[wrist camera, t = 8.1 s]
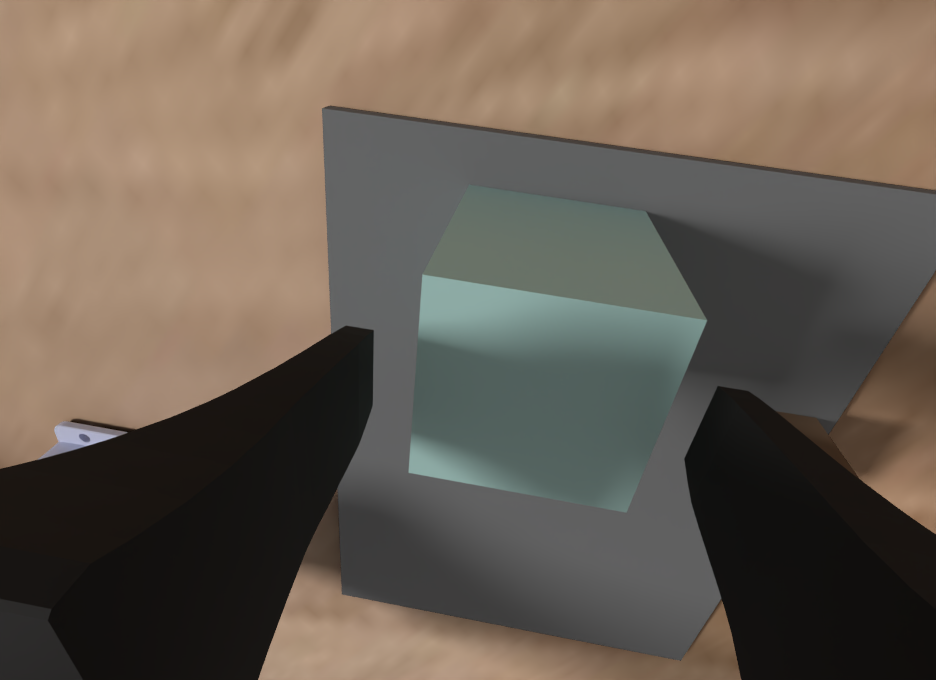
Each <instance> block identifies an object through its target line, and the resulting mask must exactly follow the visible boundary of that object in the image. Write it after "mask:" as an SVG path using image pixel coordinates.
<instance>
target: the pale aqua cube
mask: <svg viewBox="0 0 936 680" xmlns="http://www.w3.org/2000/svg"><path fill="white" fill-rule="evenodd" d="M706 322H707V319H706V317H705V316H704V314H703V312H702V310H701V309H700V307H699V305H698V303H697V301H696V300H695V298H694V296H693V294H692V293H691V291H690V289H689V287H688V285H687V284H686V282H685V280H684V278H683V277H682V275H681V273H680V271H679V269H678V268H677V266H676V264H675V262H674V261H673V259H672V257H671V255H670V253H669V252H668V250H667V248H666V246H665V245H664V243H663V241H662V239H661V237H660V236H659V234H658V232H657V230H656V229H655V227H654V225H653V223H652V221H651V220H650V218H649V216H648V214H647V213H646V211H641V210H634V209H628V208H621V207H614V206H608V205H601V204H594V203H588V202H581V201H574V200H568V199H561V198H554V197H548V196H541V195H534V194H528V193H521V192H514V191H508V190H501V189H495V188H488V187H481V186H475V185H469V186H468V188H467V190H466V192H465V194H464V196H463V198H462V199H461V201H460V203H459V205H458V207H457V209H456V211H455V213H454V215H453V217H452V219H451V221H450V223H449V224H448V226H447V228H446V230H445V232H444V234H443V236H442V238H441V240H440V242H439V244H438V246H437V247H436V249H435V251H434V253H433V255H432V257H431V259H430V261H429V263H428V265H427V267H426V269H425V271H424V272H423V274H422V287H421V302H420V316H419V330H418V344H417V359H416V373H415V387H414V401H413V416H412V430H411V444H410V458H409V473H413V474H418V475H424V476H429V477H435V478H440V479H445V480H451V481H456V482H462V483H467V484H473V485H478V486H484V487H489V488H495V489H500V490H505V491H511V492H516V493H522V494H527V495H533V496H538V497H544V498H549V499H555V500H560V501H566V502H571V503H576V504H582V505H587V506H593V507H598V508H604V509H609V510H615V511H620V512H626V513H627V510H628V508H629V505H630V503H631V501H632V498H633V496H634V494H635V491H636V489H637V486H638V484H639V482H640V479H641V477H642V474H643V472H644V470H645V467H646V465H647V463H648V460H649V458H650V455H651V453H652V451H653V448H654V446H655V443H656V441H657V439H658V436H659V434H660V432H661V429H662V427H663V424H664V422H665V420H666V417H667V415H668V413H669V410H670V408H671V405H672V403H673V401H674V398H675V396H676V393H677V391H678V389H679V386H680V384H681V382H682V379H683V377H684V374H685V372H686V370H687V367H688V365H689V363H690V360H691V358H692V355H693V353H694V351H695V348H696V346H697V343H698V341H699V339H700V336H701V334H702V332H703V329H704V327H705V324H706Z"/></svg>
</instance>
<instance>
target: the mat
mask: <svg viewBox="0 0 936 680" xmlns="http://www.w3.org/2000/svg"><path fill="white" fill-rule="evenodd" d="M322 118H323V142H324V167H325V191H326V216H327V240H328V264H329V289H330V313H331V334H332V333H334V332H335V331H337V330H339V329H340V328H342V327H344V326H352V327H358V328H365V329H371V330H374V356H373V407H372V409H371V412H370V415H369V418H368V421H367V424H366V427H365V430H364V433H363V435H362V438H361V441H360V444H359V446H358V448H357V450H356V452H355V454H354V456H353V458H352V460H351V462H350V464H349V466H348V468H347V470H346V472H345V474H344V476H343V478H342V480H341V482H340V484H339V486H338V509H339V534H340V558H341V582H342V594H343V595H348V596H353V597H359V598H364V599H369V600H374V601H379V602H384V603H389V604H394V605H399V606H404V607H410V608H415V609H420V610H425V611H430V612H435V613H440V614H445V615H450V616H455V617H460V618H466V619H471V620H476V621H481V622H486V623H491V624H496V625H501V626H506V627H511V628H517V629H522V630H527V631H532V632H537V633H542V634H547V635H552V636H557V637H562V638H568V639H573V640H578V641H583V642H588V643H593V644H598V645H603V646H608V647H613V648H619V649H624V650H629V651H634V652H639V653H644V654H649V655H654V656H659V657H664V658H669V659H675V660H680V661H681V660H682V658H683V656H684V655H685V653H686V652H687V650H688V649H689V647H690V646H691V644H692V643H693V641H694V640H695V638H696V637H697V635H698V634H699V632H700V630H701V629H702V627H703V626H704V624H705V623H706V621H707V620H708V618H709V617H710V615H711V614H712V612H713V611H714V609H715V607H716V606H717V604H718V603H719V601H720V600H721V595H720V592H719V589H718V586H717V583H716V580H715V577H714V573H713V570H712V567H711V564H710V561H709V558H708V555H707V552H706V549H705V546H704V542H703V539H702V536H701V533H700V530H699V527H698V523H697V520H696V517H695V514H694V510H693V507H692V503H691V498H690V493H689V488H688V482H687V475H686V468H685V461H684V458H685V456H686V454H687V451H688V449H689V447H690V445H691V443H692V441H693V438H694V436H695V434H696V432H697V430H698V428H699V425H700V423H701V421H702V419H703V417H704V415H705V412H706V410H707V408H708V406H709V404H710V402H711V399H712V397H713V395H714V393H715V391H716V389H717V386H721V387H727V388H733V389H740V390H746V391H749V392H751V393H752V394H754V395H755V396H756V397H758V398H759V399H761V400H762V401H763V402H765V403H766V404H767V405H768V406H770V407H771V408H772V409H774V410H775V411H778V412H784V413H790V414H796V415H802V416H808V417H814V418H817V419H818V421H819V422H820V424H821V425H822V427H823V428H824V429H825V431H826V432H827V434H828V435H829V433H830V432H831V430H832V428H833V427H834V425H835V424H836V422H837V421H838V419H839V418H840V416H841V415H842V413H843V412H844V410H845V409H846V407H847V406H848V404H849V402H850V401H851V399H852V398H853V396H854V395H855V393H856V392H857V390H858V389H859V387H860V386H861V384H862V383H863V381H864V379H865V378H866V376H867V375H868V373H869V372H870V370H871V369H872V367H873V366H874V364H875V363H876V361H877V360H878V358H879V357H880V355H881V353H882V352H883V350H884V349H885V347H886V346H887V344H888V343H889V341H890V340H891V338H892V337H893V335H894V334H895V332H896V331H897V329H898V327H899V326H900V324H901V323H902V321H903V320H904V318H905V317H906V315H907V314H908V312H909V311H910V309H911V308H912V306H913V305H914V303H915V301H916V300H917V298H918V297H919V295H920V294H921V292H922V291H923V289H924V288H925V286H926V285H927V283H928V282H929V280H930V278H931V277H932V275H933V274H934V272H935V271H936V191H935V190H928V189H920V188H913V187H906V186H899V185H892V184H885V183H878V182H870V181H863V180H856V179H849V178H842V177H835V176H828V175H820V174H813V173H806V172H799V171H792V170H785V169H778V168H770V167H763V166H756V165H749V164H742V163H735V162H728V161H720V160H713V159H706V158H699V157H692V156H685V155H678V154H670V153H663V152H656V151H649V150H642V149H635V148H628V147H620V146H613V145H606V144H599V143H592V142H585V141H578V140H570V139H563V138H556V137H549V136H542V135H535V134H528V133H520V132H513V131H506V130H499V129H492V128H485V127H478V126H470V125H463V124H456V123H449V122H442V121H435V120H428V119H420V118H413V117H406V116H399V115H392V114H385V113H378V112H370V111H363V110H356V109H349V108H342V107H335V106H328V107H325V108H322ZM469 185H475V186H481V187H488V188H495V189H501V190H508V191H514V192H521V193H528V194H534V195H541V196H548V197H554V198H561V199H568V200H574V201H581V202H588V203H594V204H601V205H608V206H614V207H621V208H628V209H634V210H641V211H646V213H647V214H648V216H649V218H650V220H651V221H652V223H653V225H654V227H655V229H656V230H657V232H658V234H659V236H660V237H661V239H662V241H663V243H664V245H665V246H666V248H667V250H668V252H669V253H670V255H671V257H672V259H673V261H674V262H675V264H676V266H677V268H678V269H679V271H680V273H681V275H682V277H683V278H684V280H685V282H686V284H687V285H688V287H689V289H690V291H691V293H692V294H693V296H694V298H695V300H696V301H697V303H698V305H699V307H700V309H701V310H702V312H703V314H704V316H705V317H706V319H707V322H706V324H705V327H704V329H703V332H702V334H701V336H700V339H699V341H698V343H697V346H696V348H695V351H694V353H693V355H692V358H691V360H690V363H689V365H688V367H687V370H686V372H685V374H684V377H683V379H682V382H681V384H680V386H679V389H678V391H677V393H676V396H675V398H674V401H673V403H672V405H671V408H670V410H669V413H668V415H667V417H666V420H665V422H664V424H663V427H662V429H661V432H660V434H659V436H658V439H657V441H656V443H655V446H654V448H653V451H652V453H651V455H650V458H649V460H648V463H647V465H646V467H645V470H644V472H643V474H642V477H641V479H640V482H639V484H638V486H637V489H636V491H635V494H634V496H633V498H632V501H631V503H630V505H629V508H628V510H627V513H626V512H620V511H615V510H609V509H604V508H598V507H593V506H587V505H582V504H576V503H571V502H566V501H560V500H555V499H549V498H544V497H538V496H533V495H527V494H522V493H516V492H511V491H505V490H500V489H495V488H489V487H484V486H478V485H473V484H467V483H462V482H456V481H451V480H445V479H440V478H435V477H429V476H424V475H418V474H413V473H409V458H410V444H411V430H412V416H413V401H414V387H415V373H416V359H417V344H418V330H419V316H420V302H421V287H422V274H423V272H424V271H425V269H426V267H427V265H428V263H429V261H430V259H431V257H432V255H433V253H434V251H435V249H436V247H437V246H438V244H439V242H440V240H441V238H442V236H443V234H444V232H445V230H446V228H447V226H448V224H449V223H450V221H451V219H452V217H453V215H454V213H455V211H456V209H457V207H458V205H459V203H460V201H461V199H462V198H463V196H464V194H465V192H466V190H467V188H468V186H469Z"/></svg>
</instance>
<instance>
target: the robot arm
mask: <svg viewBox="0 0 936 680" xmlns="http://www.w3.org/2000/svg"><path fill="white" fill-rule="evenodd" d="M373 356H374V330H371V329H365V328H358V327H352V326H344V327H342V328H340V329H339V330H337V331H335V332H334V333H332V334H330V335H329V336H327V337H325V338H324V339H322V340H321V341H319V342H317V343H316V344H314V345H312V346H311V347H309V348H308V349H306V350H304V351H303V352H301V353H299V354H298V355H296V356H294V357H292V358H291V359H289V360H287V361H286V362H284V363H282V364H281V365H279V366H277V367H276V368H274V369H272V370H270V371H268V372H266V373H264V374H262V375H261V376H259V377H257V378H255V379H253V380H251V381H249V382H247V383H245V384H244V385H242V386H240V387H238V388H236V389H234V390H232V391H230V392H228V393H226V394H224V395H222V396H220V397H217V398H215V399H213V400H211V401H209V402H206V403H204V404H202V405H199V406H197V407H195V408H192V409H190V410H188V411H185V412H183V413H181V414H178V415H176V416H173V417H170V418H168V419H165V420H162V421H159V422H157V423H154V424H151V425H148V426H145V427H142V428H140V429H137V430H134V431H131V432H123V431H118V430H112V429H107V428H101V427H96V426H90V425H85V424H80V423H74V422H69V421H63V422H61V423H59V424H58V425H57V426H56V427H55V429H54V430H55V434H56V436H57V438H58V441H59V442H58V443H57V444H56V445H55V446H53V447H52V448H51V449H50V450H49V451H47V452H46V453H45V454H44V455H43V456H41V457H40V458H39V459H38V460H35V461H31V462H27V463H23V464H19V465H15V466H11V467H7V468H2V469H0V680H258V678H259V675H260V672H261V669H262V666H263V664H264V661H265V658H266V655H267V652H268V649H269V647H270V644H271V641H272V639H273V636H274V633H275V631H276V628H277V625H278V622H279V620H280V617H281V614H282V612H283V609H284V606H285V604H286V601H287V598H288V596H289V593H290V591H291V588H292V585H293V583H294V580H295V578H296V575H297V573H298V570H299V567H300V565H301V562H302V560H303V557H304V555H305V552H306V550H307V548H308V546H309V544H310V541H311V539H312V537H313V535H314V533H315V531H316V529H317V527H318V525H319V523H320V521H321V519H322V517H323V515H324V513H325V511H326V509H327V507H328V505H329V503H330V501H331V499H332V497H333V495H334V493H335V492H336V490H337V488H338V486H339V484H340V482H341V480H342V478H343V476H344V474H345V472H346V470H347V468H348V466H349V464H350V462H351V460H352V458H353V456H354V454H355V452H356V450H357V448H358V446H359V444H360V441H361V438H362V435H363V433H364V430H365V427H366V424H367V421H368V418H369V415H370V412H371V409H372V407H373ZM684 461H685V468H686V475H687V482H688V488H689V493H690V498H691V503H692V507H693V510H694V514H695V517H696V520H697V523H698V527H699V530H700V533H701V536H702V539H703V542H704V546H705V549H706V552H707V555H708V558H709V561H710V564H711V567H712V570H713V573H714V577H715V580H716V583H717V586H718V589H719V592H720V595H721V598H722V601H723V604H724V608H725V611H726V615H727V618H728V622H729V626H730V629H731V633H732V637H733V642H734V647H735V651H736V656H737V661H738V666H739V670H740V675H741V680H936V534H934V533H933V532H931V531H930V530H928V529H927V528H925V527H924V526H922V525H921V524H920V523H918V522H917V521H915V520H914V519H912V518H911V517H910V516H908V515H907V514H905V513H904V512H903V511H901V510H900V509H898V508H897V507H896V506H894V505H893V504H892V503H890V502H889V501H888V500H886V499H885V498H884V497H882V496H881V495H880V494H878V493H877V492H876V491H874V490H873V489H872V488H870V487H869V486H868V485H866V484H865V483H864V482H862V481H861V480H860V479H859V478H857V477H856V476H855V475H853V474H852V473H851V472H850V471H848V470H847V469H846V468H845V467H843V466H842V465H841V464H840V463H838V462H837V461H836V460H835V459H833V458H832V457H831V456H830V455H828V454H827V453H826V452H825V451H823V450H822V449H821V448H820V447H819V446H817V445H816V444H815V443H814V442H813V441H811V440H810V439H809V438H808V437H806V436H805V435H804V434H803V433H802V432H800V431H799V430H798V429H797V428H796V427H794V426H793V425H792V424H791V423H790V422H788V421H787V420H786V419H785V418H783V417H782V416H781V415H780V414H778V413H777V412H776V411H775V410H774V409H772V408H771V407H770V406H768V405H767V404H766V403H765V402H763V401H762V400H761V399H759V398H758V397H756V396H755V395H754V394H752V393H751V392H749V391H746V390H740V389H733V388H727V387H721V386H717V389H716V391H715V393H714V395H713V397H712V399H711V402H710V404H709V406H708V408H707V410H706V412H705V415H704V417H703V419H702V421H701V423H700V425H699V428H698V430H697V432H696V434H695V436H694V438H693V441H692V443H691V445H690V447H689V449H688V451H687V454H686V456H685V458H684Z"/></svg>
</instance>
